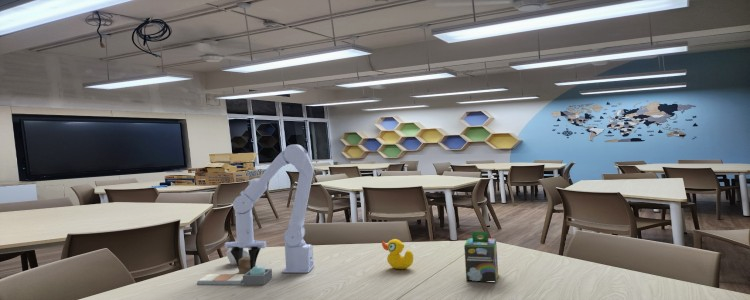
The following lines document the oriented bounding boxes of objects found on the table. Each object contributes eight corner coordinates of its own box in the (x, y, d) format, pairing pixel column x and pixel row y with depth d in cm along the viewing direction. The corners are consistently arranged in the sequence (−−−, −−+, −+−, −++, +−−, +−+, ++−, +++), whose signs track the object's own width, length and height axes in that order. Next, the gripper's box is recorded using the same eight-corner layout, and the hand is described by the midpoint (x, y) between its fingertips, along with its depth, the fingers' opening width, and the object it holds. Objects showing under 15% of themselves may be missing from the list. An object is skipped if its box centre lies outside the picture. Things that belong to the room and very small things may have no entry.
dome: (267, 276, 145) (267, 263, 145) (262, 281, 140) (261, 268, 140) (253, 276, 145) (253, 263, 145) (247, 281, 141) (247, 268, 140)
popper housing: (272, 277, 146) (271, 268, 146) (264, 284, 139) (263, 275, 139) (252, 277, 147) (251, 269, 146) (243, 284, 140) (242, 275, 140)
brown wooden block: (254, 270, 155) (254, 256, 155) (250, 274, 151) (249, 259, 151) (244, 270, 155) (243, 256, 155) (239, 274, 151) (238, 259, 151)
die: (237, 269, 159) (252, 246, 162) (218, 258, 160) (233, 235, 163) (244, 271, 167) (258, 249, 170) (225, 260, 168) (239, 238, 171)
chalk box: (498, 274, 139) (496, 227, 139) (496, 283, 130) (494, 234, 130) (468, 272, 142) (467, 227, 142) (465, 281, 134) (463, 233, 133)
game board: (250, 277, 147) (249, 273, 147) (240, 284, 140) (240, 280, 140) (208, 277, 149) (208, 274, 149) (197, 284, 142) (197, 280, 142)
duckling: (379, 269, 150) (378, 240, 150) (386, 264, 155) (385, 236, 155) (410, 272, 145) (408, 242, 145) (416, 267, 150) (415, 238, 149)
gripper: (219, 232, 150) (221, 271, 150) (260, 232, 148) (262, 271, 148) (229, 228, 157) (231, 265, 157) (267, 227, 155) (269, 265, 155)
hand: (246, 268), depth 153 cm, fingers closed on brown wooden block, 4 cm apart
